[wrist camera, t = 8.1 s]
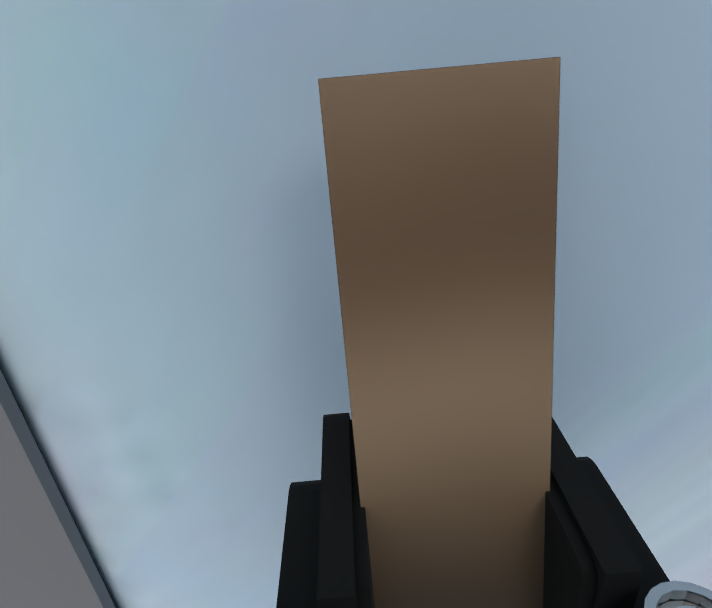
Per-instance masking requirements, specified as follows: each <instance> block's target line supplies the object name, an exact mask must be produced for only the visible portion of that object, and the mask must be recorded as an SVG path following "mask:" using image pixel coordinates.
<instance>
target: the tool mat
mask: <svg viewBox="0 0 712 608" xmlns="http://www.w3.org/2000/svg"><path fill="white" fill-rule="evenodd" d="M0 608H116V607H115V605H114V603H113V601H112V599H111V597H110V595H109V593H108V591H107V589H106V587H105V585H104V582H103V580H102V578H101V576H100V574H99V572H98V570H97V568H96V566H95V564H94V562H93V560H92V558H91V556H90V554H89V551H88V549H87V547H86V545H85V543H84V541H83V539H82V537H81V535H80V533H79V531H78V529H77V527H76V525H75V523H74V520H73V518H72V516H71V514H70V512H69V510H68V508H67V506H66V504H65V502H64V500H63V498H62V496H61V494H60V492H59V490H58V487H57V485H56V483H55V481H54V479H53V477H52V475H51V473H50V471H49V469H48V467H47V465H46V463H45V461H44V459H43V456H42V454H41V452H40V450H39V448H38V446H37V444H36V442H35V440H34V438H33V436H32V434H31V432H30V430H29V428H28V425H27V423H26V421H25V419H24V417H23V415H22V413H21V411H20V409H19V407H18V405H17V403H16V401H15V399H14V397H13V394H12V392H11V390H10V388H9V386H8V384H7V382H6V380H5V378H4V376H3V374H2V372H1V370H0Z"/></svg>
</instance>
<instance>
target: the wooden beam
mask: <svg viewBox="0 0 712 608" xmlns="http://www.w3.org/2000/svg"><path fill="white" fill-rule="evenodd" d="M318 83H319V93H320V104H321V114H322V124H323V134H324V144H325V154H326V164H327V174H328V184H329V194H330V204H331V214H332V224H333V234H334V244H335V254H336V264H337V274H338V284H339V294H340V304H341V314H342V324H343V334H344V344H345V355H346V365H347V375H348V385H349V395H350V405H351V415H352V425H353V435H354V445H355V455H356V465H357V475H358V485H359V495H360V505H361V507H365V511H366V522H367V532H368V542H369V553H370V563H371V573H372V584H373V594H374V604H375V608H543V584H544V538H545V491H550V465H551V424H552V383H553V341H554V300H555V259H556V218H557V177H558V136H559V94H560V57H553V58H542V59H531V60H520V61H509V62H498V63H487V64H476V65H465V66H454V67H443V68H432V69H421V70H410V71H399V72H389V73H378V74H367V75H356V76H345V77H334V78H323V79H318Z"/></svg>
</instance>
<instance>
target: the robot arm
mask: <svg viewBox="0 0 712 608" xmlns="http://www.w3.org/2000/svg"><path fill="white" fill-rule="evenodd" d="M276 608H375V604H374V594H373V584H372V573H371V563H370V553H369V542H368V532H367V522H366V511H365V507H361V505H360V495H359V485H358V475H357V465H356V455H355V445H354V435H353V425H352V419H351V420H350V416H349V413H340V414H329V415H324V416H323V439H322V468H321V480H315V481H304V482H292V483H291V484H290V488H289V496H288V505H287V514H286V523H285V533H284V542H283V551H282V561H281V570H280V579H279V588H278V598H277V607H276ZM543 608H712V591H711V590H709V589H707V588H704V587H701V586H698V585H696V584H693V583H688V582H681V581H669V579H668V577H667V576H666V574H665V573H664V571H663V570H662V568H661V566H660V565H659V563H658V562H657V560H656V559H655V557H654V555H653V554H652V552H651V551H650V549H649V548H648V546H647V544H646V543H645V541H644V540H643V538H642V536H641V535H640V533H639V532H638V530H637V529H636V527H635V525H634V524H633V522H632V521H631V519H630V518H629V516H628V514H627V513H626V511H625V510H624V508H623V506H622V505H621V503H620V502H619V500H618V499H617V497H616V495H615V494H614V492H613V491H612V489H611V488H610V486H609V484H608V483H607V481H606V480H605V478H604V477H603V475H602V473H601V472H600V470H599V469H598V467H597V466H596V464H595V463H594V462H593V460H592V459H590V458H589V457H577V458H576V456H575V455H574V453H573V451H572V450H571V448H570V446H569V444H568V443H567V441H566V439H565V438H564V436H563V434H562V433H561V431H560V429H559V428H558V426H557V424H556V423H555V421H554V419H553V418H552V424H551V465H550V491H545V538H544V584H543Z"/></svg>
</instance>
